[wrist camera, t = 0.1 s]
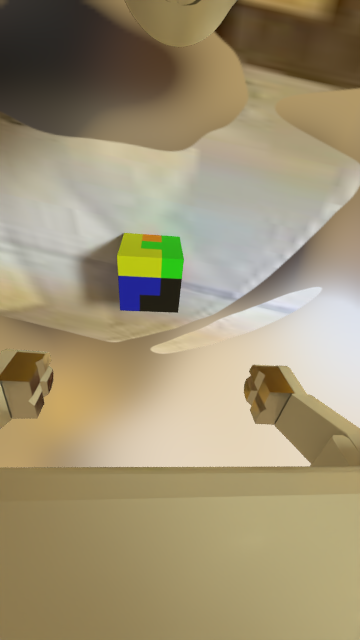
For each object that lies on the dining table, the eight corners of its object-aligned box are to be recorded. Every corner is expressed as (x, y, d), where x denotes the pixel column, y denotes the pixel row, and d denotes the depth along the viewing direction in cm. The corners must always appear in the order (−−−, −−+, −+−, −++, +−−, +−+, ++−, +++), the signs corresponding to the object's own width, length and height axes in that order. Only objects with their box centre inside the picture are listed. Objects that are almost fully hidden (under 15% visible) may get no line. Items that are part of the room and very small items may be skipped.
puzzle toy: (126, 281, 51) (120, 310, 43) (124, 232, 45) (116, 255, 37) (175, 284, 52) (177, 312, 44) (179, 236, 46) (183, 259, 38)
